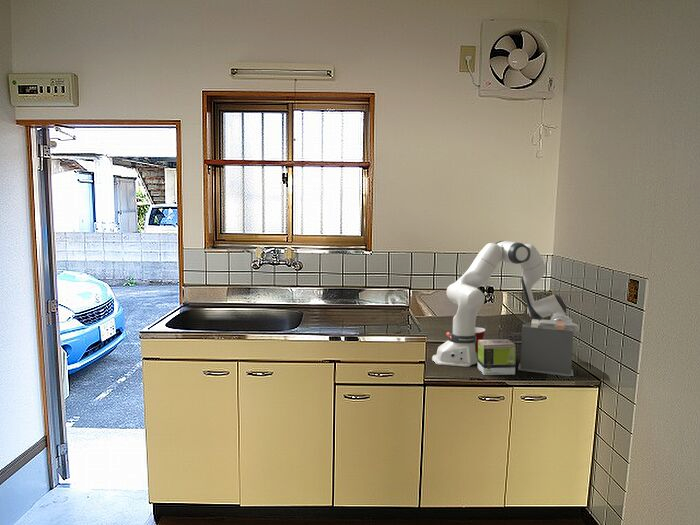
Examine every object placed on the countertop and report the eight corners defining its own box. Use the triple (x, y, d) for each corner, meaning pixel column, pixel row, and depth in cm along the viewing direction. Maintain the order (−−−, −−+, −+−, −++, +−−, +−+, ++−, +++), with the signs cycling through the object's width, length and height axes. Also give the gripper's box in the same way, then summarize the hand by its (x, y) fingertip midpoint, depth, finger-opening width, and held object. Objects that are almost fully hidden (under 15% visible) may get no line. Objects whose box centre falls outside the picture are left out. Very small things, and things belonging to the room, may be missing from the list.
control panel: (518, 369, 227) (519, 326, 225) (519, 365, 235) (520, 323, 232) (573, 376, 218) (575, 332, 216) (572, 371, 225) (575, 328, 223)
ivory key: (529, 338, 224) (530, 322, 223) (530, 332, 234) (531, 318, 233) (538, 339, 223) (539, 323, 222) (539, 333, 232) (540, 319, 231)
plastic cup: (462, 347, 265) (463, 326, 263) (482, 348, 264) (483, 326, 262) (465, 353, 254) (466, 331, 253) (486, 353, 253) (487, 331, 252)
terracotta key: (554, 340, 220) (555, 325, 219) (554, 335, 229) (555, 320, 229) (564, 341, 218) (565, 325, 218) (564, 336, 228) (564, 321, 227)
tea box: (507, 368, 230) (508, 338, 228) (515, 375, 220) (516, 344, 218) (476, 368, 230) (477, 338, 228) (483, 375, 220) (484, 344, 218)
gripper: (538, 315, 248) (537, 321, 235) (582, 318, 239) (583, 325, 227) (537, 327, 248) (536, 333, 236) (581, 331, 240) (582, 338, 228)
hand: (559, 329), depth 231 cm, fingers closed
